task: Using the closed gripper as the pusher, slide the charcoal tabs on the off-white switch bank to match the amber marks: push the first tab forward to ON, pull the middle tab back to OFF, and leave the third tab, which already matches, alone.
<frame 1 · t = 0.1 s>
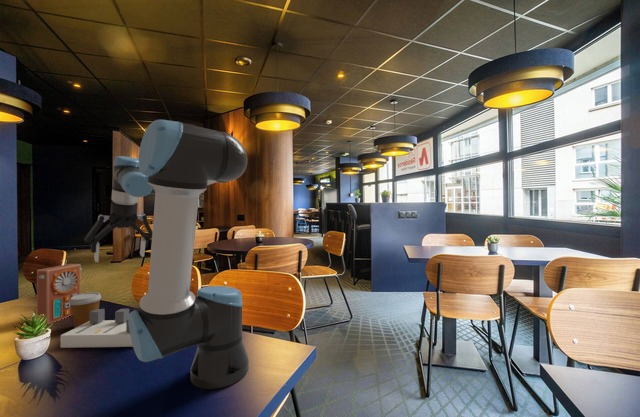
hand: (120, 257, 99), 28 cm above the table, tool tilted 20°, fingers open, 13 cm apart
disposable coffee cup: (85, 327, 105), on the table
tab c: (97, 316, 99), point 6 cm above the table, slide at 7.5 cm
switch bank: (114, 338, 95), on the table
tab a: (133, 324, 92), point 6 cm above the table, slide at 0.0 cm
control panel: (59, 318, 114), on the table
tab b: (122, 315, 99), point 6 cm above the table, slide at 7.5 cm
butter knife: (155, 357, 84), on the table
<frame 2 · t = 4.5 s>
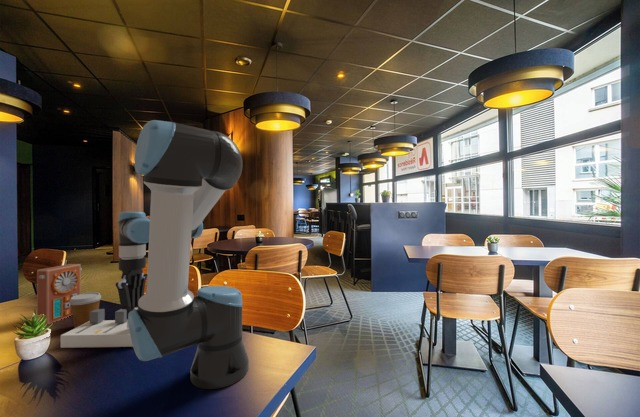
hand: (132, 327, 92), 6 cm above the table, tool pointing down, fingers closed
tab a: (137, 321, 94), point 6 cm above the table, slide at 1.7 cm, touching gripper
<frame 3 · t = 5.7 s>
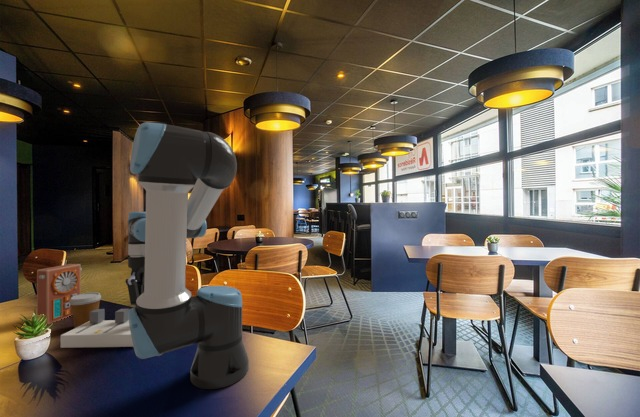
hand: (141, 322, 96), 5 cm above the table, tool pointing down, fingers closed
tab a: (145, 316, 98), point 6 cm above the table, slide at 6.2 cm, touching gripper
everything else where it was.
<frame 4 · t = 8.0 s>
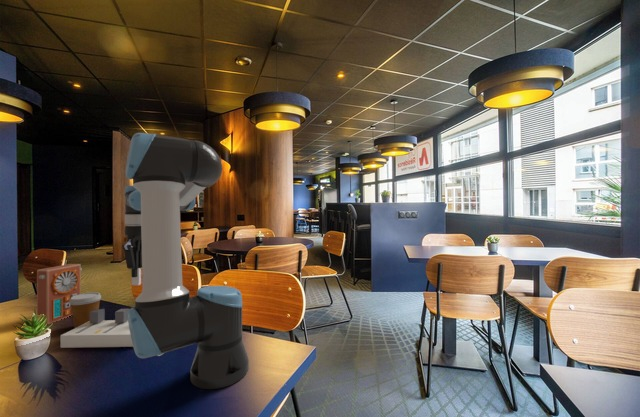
hand: (136, 284, 108), 15 cm above the table, tool pointing down, fingers closed
tab a: (145, 316, 98), point 6 cm above the table, slide at 6.2 cm
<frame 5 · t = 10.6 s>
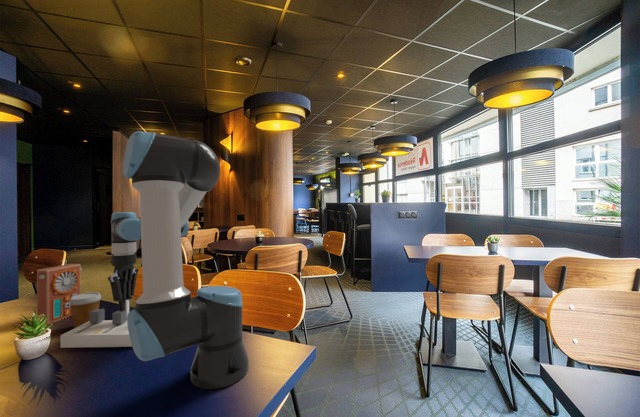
hand: (124, 317, 100), 5 cm above the table, tool pointing down, fingers closed
tab b: (119, 317, 98), point 6 cm above the table, slide at 6.1 cm, touching gripper
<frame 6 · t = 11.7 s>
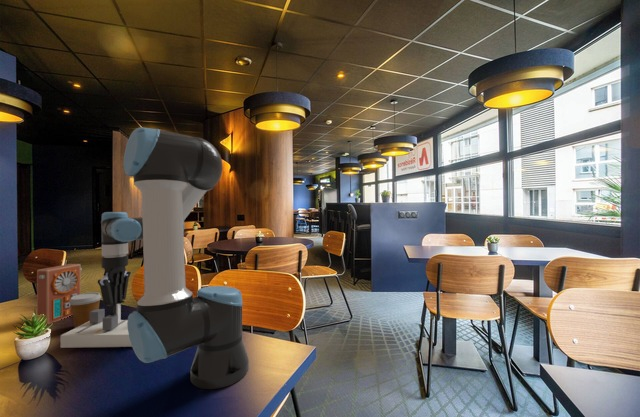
hand: (115, 322, 96), 5 cm above the table, tool pointing down, fingers closed
tab b: (110, 322, 94), point 6 cm above the table, slide at 1.6 cm, touching gripper
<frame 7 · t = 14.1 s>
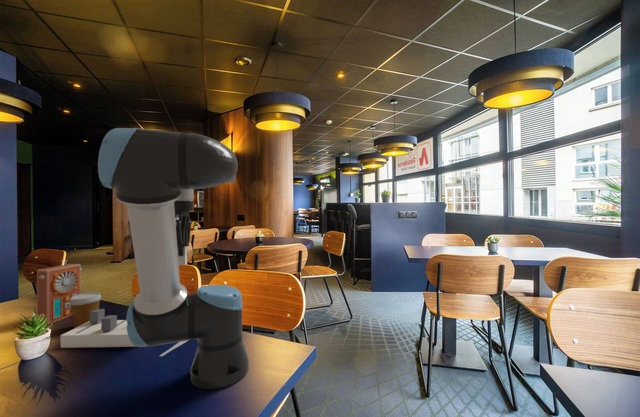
hand: (182, 264, 100), 25 cm above the table, tool pointing down, fingers closed
tab b: (109, 323, 93), point 6 cm above the table, slide at 1.1 cm
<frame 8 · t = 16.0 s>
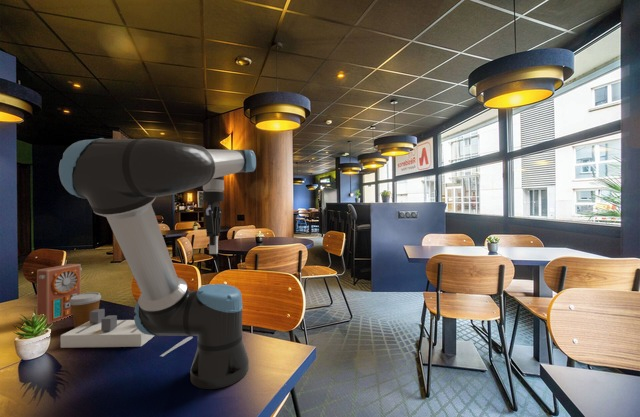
hand: (213, 253, 103), 28 cm above the table, tool pointing down, fingers closed
at the end: tab a slide at 6.2 cm; tab b slide at 1.1 cm; tab c slide at 7.5 cm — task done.
